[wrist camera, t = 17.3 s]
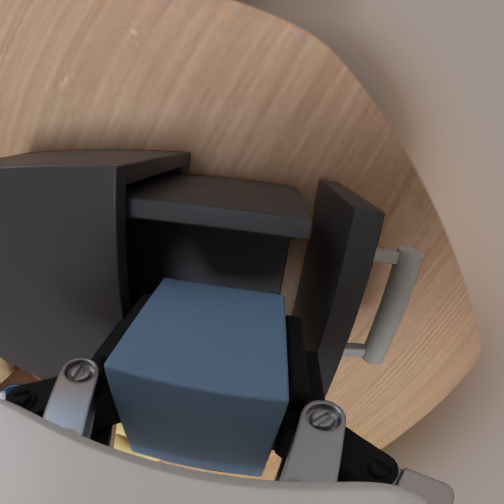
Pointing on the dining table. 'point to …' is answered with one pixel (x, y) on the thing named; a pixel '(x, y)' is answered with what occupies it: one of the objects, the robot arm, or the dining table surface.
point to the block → (203, 376)
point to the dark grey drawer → (271, 253)
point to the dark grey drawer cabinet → (66, 250)
